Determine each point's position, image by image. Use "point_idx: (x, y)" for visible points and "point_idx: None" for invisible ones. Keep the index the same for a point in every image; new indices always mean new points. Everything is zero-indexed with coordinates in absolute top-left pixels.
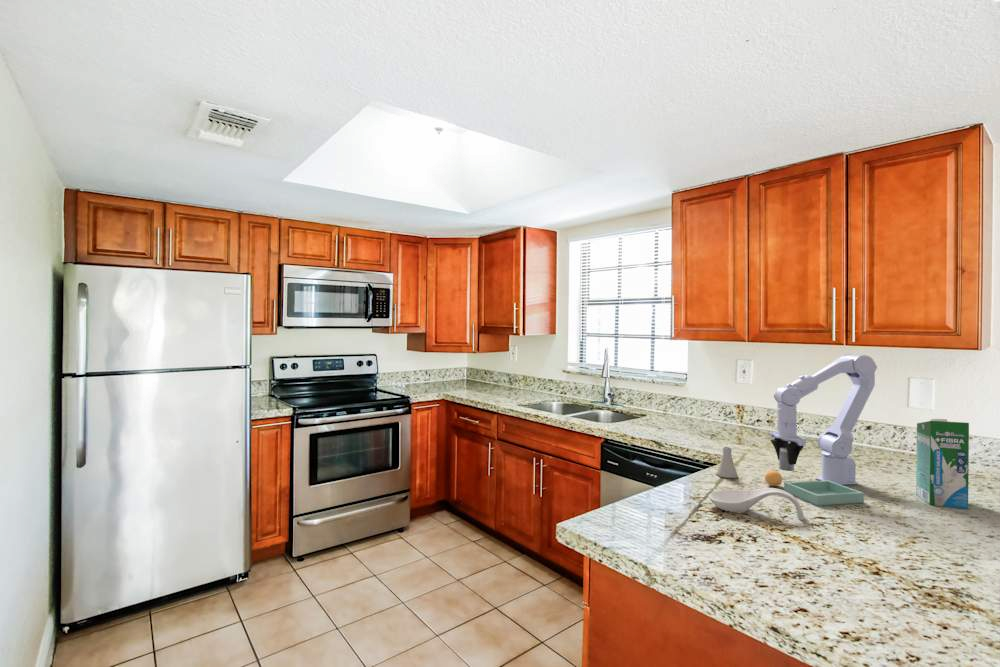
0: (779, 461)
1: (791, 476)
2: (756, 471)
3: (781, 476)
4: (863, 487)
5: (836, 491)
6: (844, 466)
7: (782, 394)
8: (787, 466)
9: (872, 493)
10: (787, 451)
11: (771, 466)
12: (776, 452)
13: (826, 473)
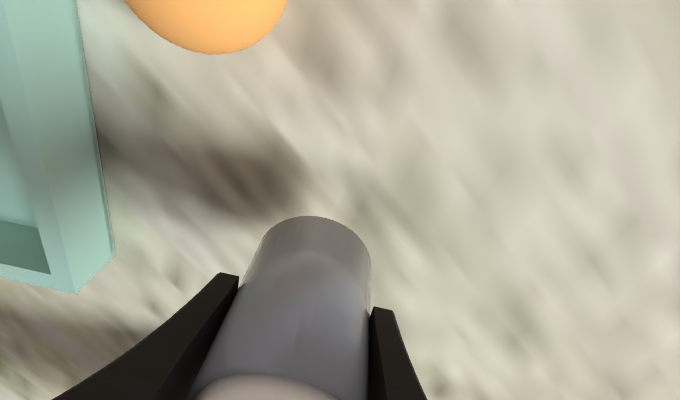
0: (346, 277)
1: (379, 304)
2: (591, 219)
3: (135, 13)
4: None
5: (21, 230)
6: None
7: None
8: (260, 253)
9: (55, 352)
10: (156, 392)
11: (579, 379)
12: (414, 382)
13: None
